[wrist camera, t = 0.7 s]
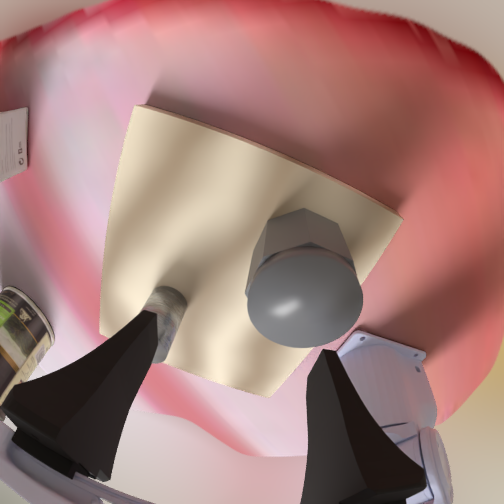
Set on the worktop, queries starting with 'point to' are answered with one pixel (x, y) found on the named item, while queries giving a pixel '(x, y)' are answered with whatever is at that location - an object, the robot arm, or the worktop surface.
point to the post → (166, 317)
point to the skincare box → (13, 142)
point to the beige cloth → (216, 239)
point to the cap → (302, 281)
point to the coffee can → (20, 339)
